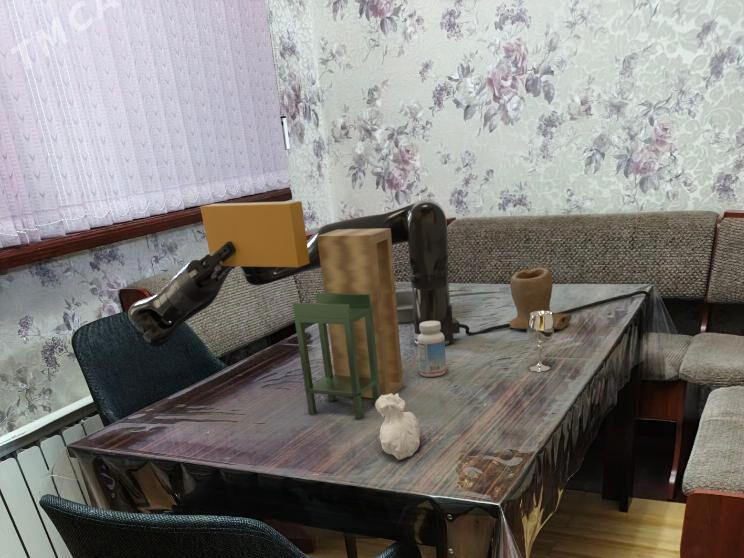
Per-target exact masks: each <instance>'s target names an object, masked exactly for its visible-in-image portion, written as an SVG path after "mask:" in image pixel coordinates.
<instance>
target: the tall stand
mask: <svg viewBox="0 0 744 558" xmlns="http://www.w3.org/2000/svg"><path fill="white" fill-rule="evenodd" d="M317 241H318V248H319V256H320V264H321V268H320V271H321V279H322V287H323V293H348V294H370V297H371V307H372V313H373V324H374V334H375V344H376V354H377V365H378V375H379V385H380V395H388V394H391V393H392V394H393V395H395V394H397V393H398V392H399V391H401V389H403V388H404V378H403V365H402V355H401V342H400V341H401V340H400V328H399V323H398V315H397V303H396V292H397V291H396V279H395V267H394V265H395V264H394V255H393V245H392V240H391V228H385V229H338V230H334V231H331V232H328V233H325V234H322V235H319V236H317ZM327 325H328V332H329V342H330V348H331V349H330V350H331V357H332V365H333V370H334V372H333V373H334V375H340V376H350V369H349V361H348V352H347V344H346V335H345V327H344V324H327ZM353 330H354V339H355V348H356V357H357V366H358V375H359V377H366V378H371V374H370V365H369V355H368V345H367V336H366V326H365V317H363V318H361V319H359V320H357V321H355V322H354V323H353ZM361 398H367V399H373V394H372V388H370V389H369V390H367V391H366V392H364V393H363V394H362V395H361Z"/></svg>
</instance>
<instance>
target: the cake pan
mask: <svg viewBox="0 0 744 558" xmlns="http://www.w3.org/2000/svg"><path fill="white" fill-rule="evenodd" d="M396 303H397V315H398V324H405V323H414V314H413V300H412V289H409V290H397V291H396Z"/></svg>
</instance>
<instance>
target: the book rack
mask: <svg viewBox="0 0 744 558" xmlns="http://www.w3.org/2000/svg"><path fill="white" fill-rule="evenodd" d="M292 308H293V314H294V315H293V316H294V317H293V318H294V324H295V331H296V337H297V338H296V339H297V344H298V351H299V357H300V363H301V369H302V377H303V383H304V384H303V385H304V390H305V397H306V403H307V409H308V414H309V415H316V414H317V413H318V411H317V410H318V409H317V404H316V396H315V394H320V395H327V400H328V402H335V401H336V400H337V396H341V397H352V403H353V411H354V419H355V420H362V419H363V418H364V411H363V401H362V397H361V395H362V394H363V393H364V392H366V391H367V390H369V389H370V388H372V394H373V398H372V404H373V406H375V403H376V401H377V400H378V399H379V397H380V396H381V395H380V385H379V375H378V365H377V354H376V344H375V334H374V324H373V313H372V307H371V297H370V294H348V293H324V292H315V302H293V303H292ZM363 317H365V326H366V336H367V345H368V355H369V365H370V374H371V378H366V377H359V375H358V366H357V357H356V348H355V339H354V330H353V323H354V322H355V321H357V320H359V319H361V318H363ZM306 323H307V324H317V325H318V326H317V327H318V333H319V339H320V347H321V348H320V349H321V355H322V363H323V369H324V376H323V377H321V378H320V379H318V380H317V381H315V382H313V377H312V370H311V363H310V357H309V356H310V355H309V348H308V344H307V336H306V329H305V324H306ZM328 324H344V327H345V335H346V344H347V352H348V361H349V369H350V376H340V375H335V374H334V372H333V362H332V355H331V349H330V348H331V347H330V339H329V335H328V327H327V325H328Z"/></svg>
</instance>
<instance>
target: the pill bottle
mask: <svg viewBox="0 0 744 558" xmlns="http://www.w3.org/2000/svg"><path fill="white" fill-rule="evenodd" d="M419 328H420V329H419V330H420V332H421V334H420V335H419V336H418V338H417V344H418V346H417V356H418V366H419V367H418V369H419V374H420V375H421V376H422V377H425V378H434V377H440V376H443V375H445V374H446V372H447V359H446V358H447V357H446V345H445V339H444V335H443V333H441V332H440V330H441V329H440V328H441V324H440V322H439V321H425V322H422V323H420V324H419Z"/></svg>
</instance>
